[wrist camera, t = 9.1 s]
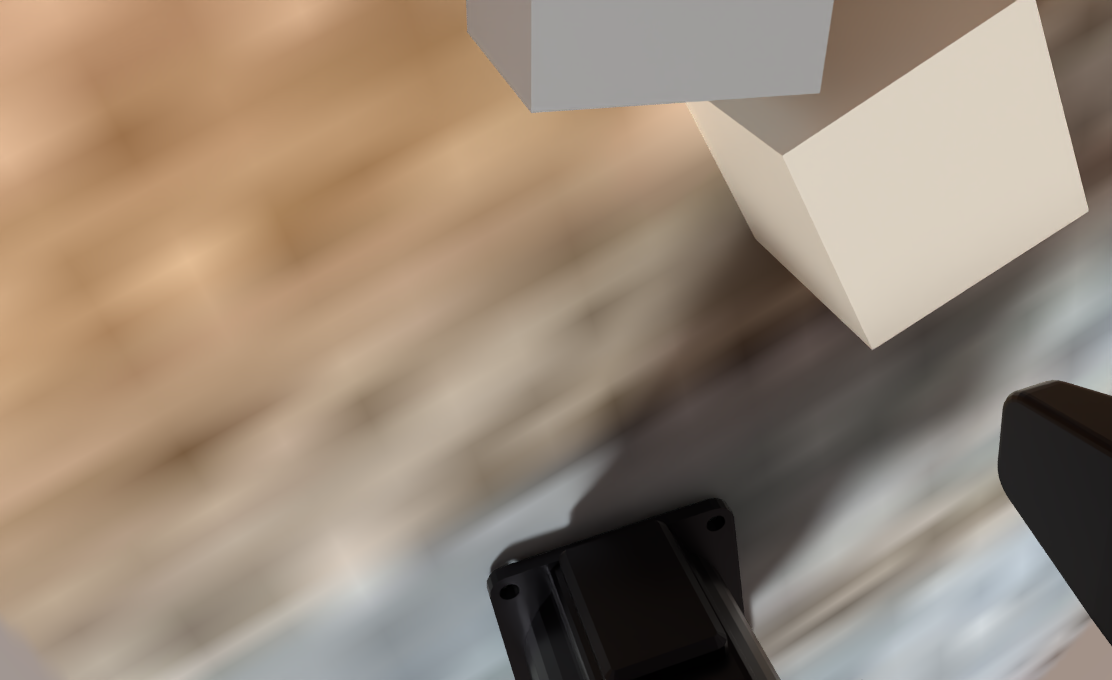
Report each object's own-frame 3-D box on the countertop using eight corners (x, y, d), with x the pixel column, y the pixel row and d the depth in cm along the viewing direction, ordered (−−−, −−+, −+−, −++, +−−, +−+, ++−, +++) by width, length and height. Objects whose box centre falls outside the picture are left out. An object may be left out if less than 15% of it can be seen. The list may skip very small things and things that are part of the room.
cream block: (927, 124, 22) (1088, 211, 17) (754, 237, 22) (872, 349, 18) (862, -61, 19) (1032, -10, 15) (668, 70, 19) (782, 155, 15)
